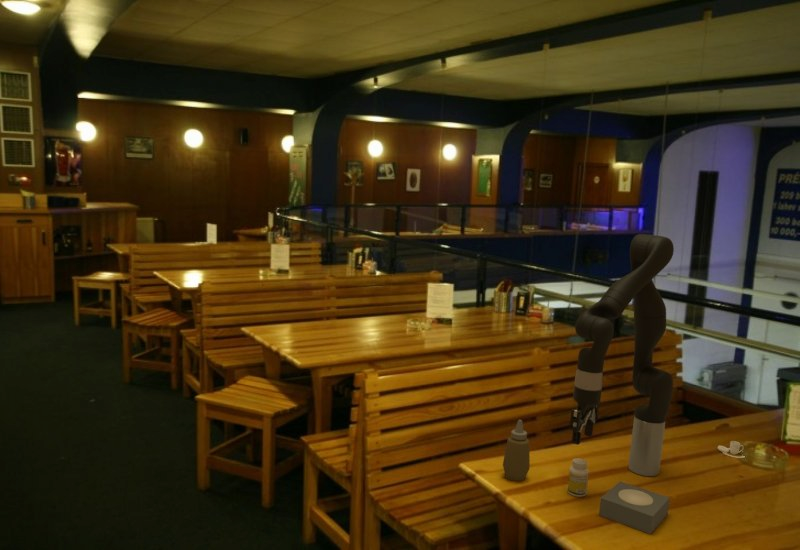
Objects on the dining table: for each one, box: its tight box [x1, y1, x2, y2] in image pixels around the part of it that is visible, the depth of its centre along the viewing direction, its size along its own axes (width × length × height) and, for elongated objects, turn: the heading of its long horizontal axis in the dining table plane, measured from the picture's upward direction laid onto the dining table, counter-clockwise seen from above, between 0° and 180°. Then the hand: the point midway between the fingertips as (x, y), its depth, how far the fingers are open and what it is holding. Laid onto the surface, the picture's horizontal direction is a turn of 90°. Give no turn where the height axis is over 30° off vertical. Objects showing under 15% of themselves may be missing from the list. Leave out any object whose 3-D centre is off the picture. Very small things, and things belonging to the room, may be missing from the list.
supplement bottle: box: [567, 457, 590, 498], centre depth 198 cm, size 5×5×10 cm
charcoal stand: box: [598, 480, 671, 535], centre depth 188 cm, size 14×14×5 cm
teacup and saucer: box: [717, 440, 746, 459], centre depth 235 cm, size 9×8×4 cm
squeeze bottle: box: [502, 419, 531, 482], centre depth 206 cm, size 8×8×18 cm
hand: (582, 439), depth 197 cm, fingers open, 8 cm apart
